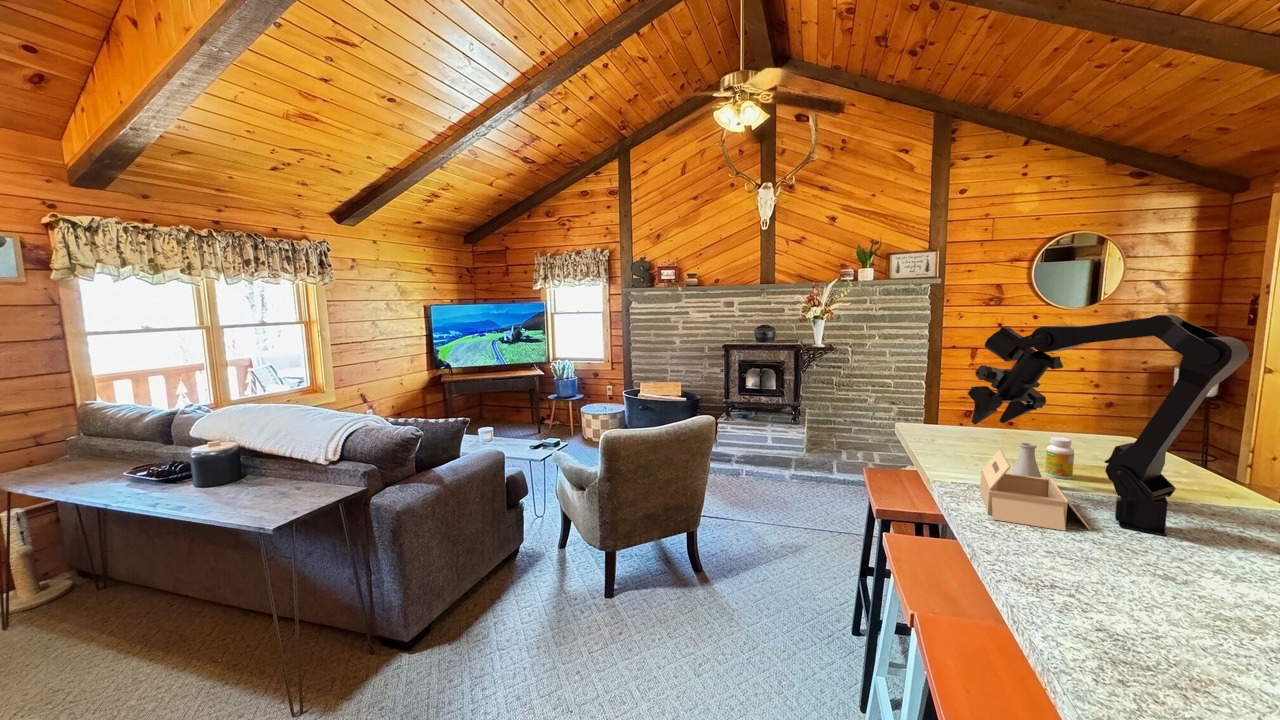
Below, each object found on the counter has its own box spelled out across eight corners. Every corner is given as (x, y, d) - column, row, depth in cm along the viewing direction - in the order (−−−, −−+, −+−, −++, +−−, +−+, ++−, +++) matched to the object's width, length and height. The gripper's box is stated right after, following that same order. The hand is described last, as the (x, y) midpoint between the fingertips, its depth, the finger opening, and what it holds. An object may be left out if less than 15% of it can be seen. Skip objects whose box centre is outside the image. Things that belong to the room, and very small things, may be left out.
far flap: (983, 470, 116) (1001, 449, 114) (991, 489, 104) (1010, 467, 102) (982, 469, 116) (999, 448, 114) (989, 488, 104) (1008, 466, 102)
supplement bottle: (1040, 474, 127) (1042, 437, 126) (1051, 470, 130) (1054, 434, 129) (1065, 480, 123) (1068, 442, 122) (1076, 477, 125) (1079, 439, 124)
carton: (1067, 498, 112) (1068, 476, 111) (1095, 536, 94) (1097, 510, 93) (978, 486, 120) (979, 466, 119) (989, 519, 102) (990, 495, 101)
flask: (1052, 489, 118) (1055, 448, 116) (1021, 489, 118) (1024, 448, 117) (1028, 478, 125) (1031, 440, 124) (999, 479, 125) (1002, 440, 124)
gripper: (1025, 354, 124) (990, 401, 133) (969, 353, 119) (936, 402, 127) (1065, 381, 115) (1024, 430, 124) (1006, 381, 110) (968, 432, 119)
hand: (987, 422), depth 124 cm, fingers open, 9 cm apart
